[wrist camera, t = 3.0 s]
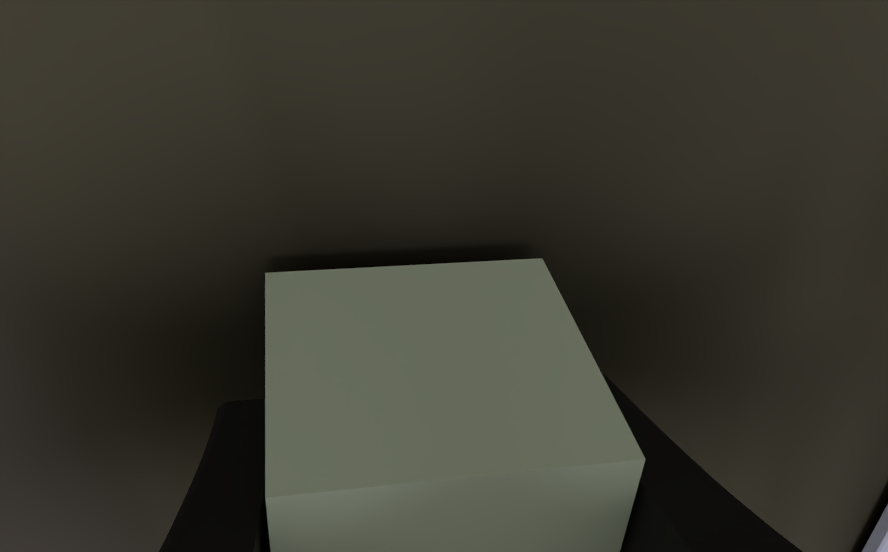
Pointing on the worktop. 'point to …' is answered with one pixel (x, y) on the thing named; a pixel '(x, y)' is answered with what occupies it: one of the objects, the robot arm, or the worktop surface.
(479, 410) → the green cube
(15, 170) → the worktop surface
